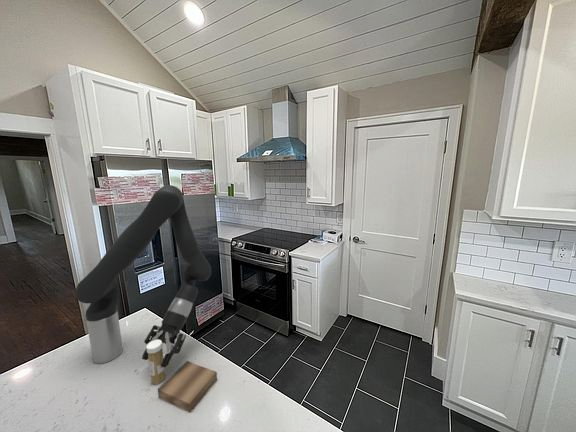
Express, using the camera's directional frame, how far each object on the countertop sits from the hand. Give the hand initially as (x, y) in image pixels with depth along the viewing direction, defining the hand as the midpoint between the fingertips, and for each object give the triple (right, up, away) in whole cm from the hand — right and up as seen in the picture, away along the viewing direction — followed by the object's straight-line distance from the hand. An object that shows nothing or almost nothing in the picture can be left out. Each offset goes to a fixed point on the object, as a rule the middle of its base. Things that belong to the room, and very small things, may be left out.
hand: (153, 363), depth 77 cm
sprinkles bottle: (0, -7, +2) cm, 7 cm away
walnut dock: (+13, -7, -2) cm, 15 cm away
